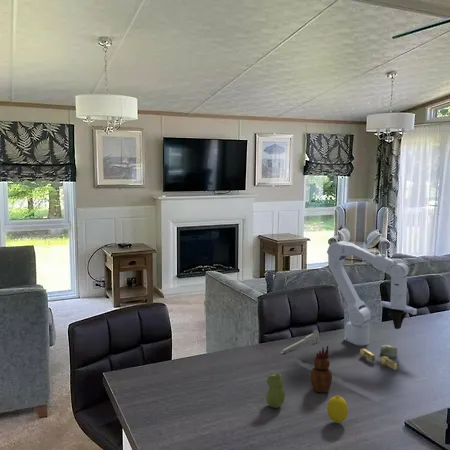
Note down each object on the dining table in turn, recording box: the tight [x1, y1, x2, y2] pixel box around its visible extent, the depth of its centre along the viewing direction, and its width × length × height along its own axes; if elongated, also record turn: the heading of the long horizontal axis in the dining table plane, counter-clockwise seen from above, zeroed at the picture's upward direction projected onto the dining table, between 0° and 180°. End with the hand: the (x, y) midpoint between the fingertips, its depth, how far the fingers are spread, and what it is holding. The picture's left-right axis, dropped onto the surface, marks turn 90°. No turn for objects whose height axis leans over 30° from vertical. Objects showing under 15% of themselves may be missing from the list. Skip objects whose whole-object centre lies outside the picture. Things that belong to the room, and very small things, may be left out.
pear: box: [265, 373, 286, 409], centre depth 134 cm, size 6×5×10 cm
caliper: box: [279, 329, 320, 355], centre depth 180 cm, size 21×1×6 cm, turn 124°
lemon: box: [327, 395, 349, 424], centre depth 125 cm, size 6×6×8 cm
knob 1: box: [359, 347, 376, 362], centre depth 165 cm, size 2×7×3 cm, turn 17°
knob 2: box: [380, 355, 398, 371], centre depth 158 cm, size 2×7×3 cm, turn 17°
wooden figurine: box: [310, 345, 333, 394], centre depth 143 cm, size 7×6×15 cm
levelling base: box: [380, 344, 398, 359], centre depth 167 cm, size 14×20×5 cm
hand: (397, 328), depth 173 cm, fingers closed
